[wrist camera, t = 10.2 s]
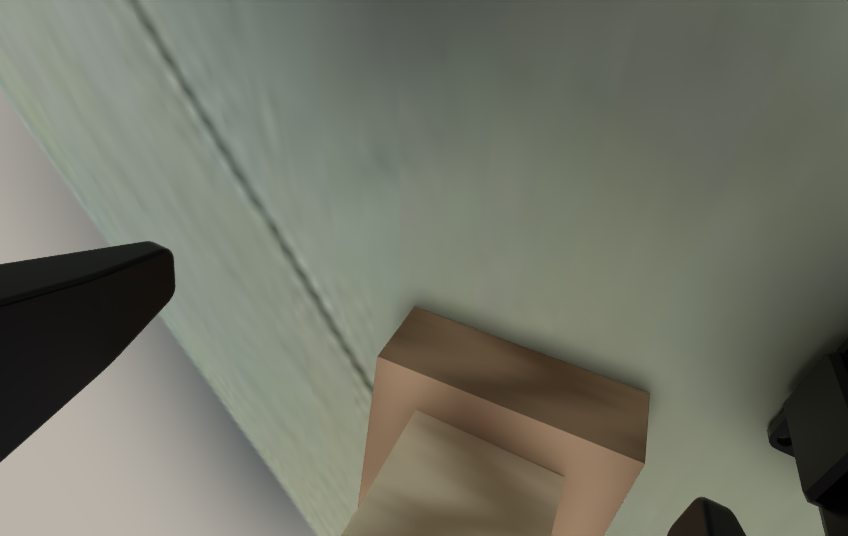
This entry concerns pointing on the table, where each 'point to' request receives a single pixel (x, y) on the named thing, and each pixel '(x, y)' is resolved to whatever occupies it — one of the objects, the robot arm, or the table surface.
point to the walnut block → (513, 412)
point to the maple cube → (455, 488)
